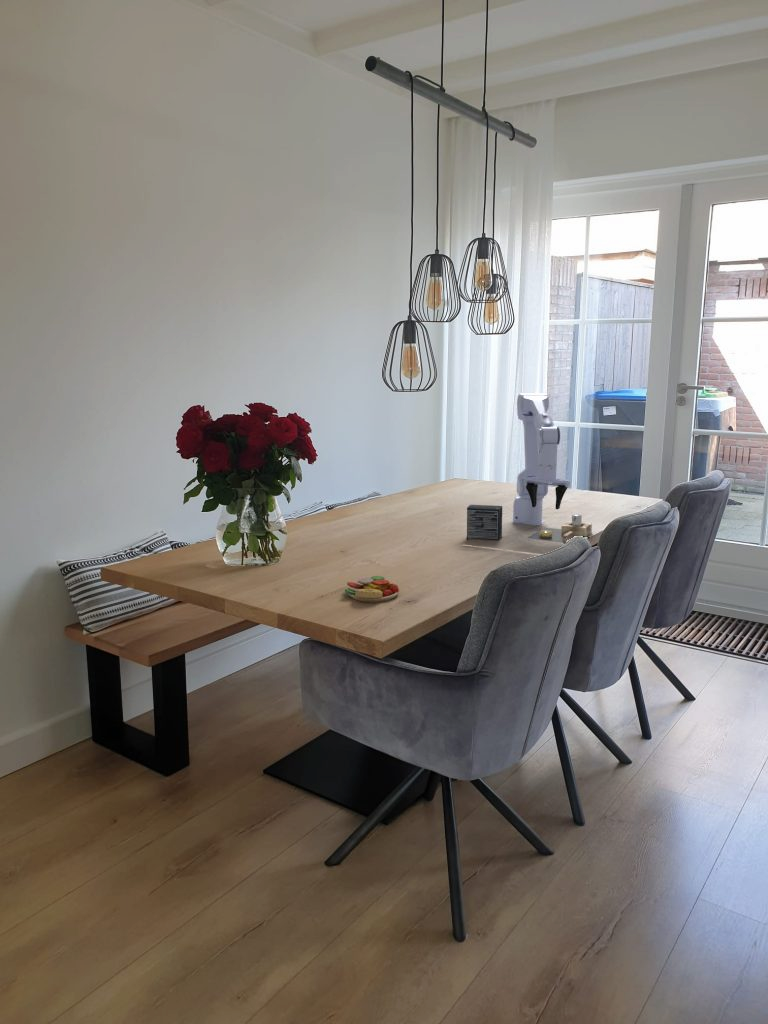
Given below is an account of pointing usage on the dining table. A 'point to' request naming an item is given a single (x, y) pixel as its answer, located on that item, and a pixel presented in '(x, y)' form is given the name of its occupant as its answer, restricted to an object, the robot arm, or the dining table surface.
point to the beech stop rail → (567, 536)
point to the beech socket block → (577, 529)
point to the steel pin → (576, 520)
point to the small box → (484, 522)
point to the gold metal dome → (545, 534)
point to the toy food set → (372, 589)
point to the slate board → (555, 535)
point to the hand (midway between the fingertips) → (545, 507)
